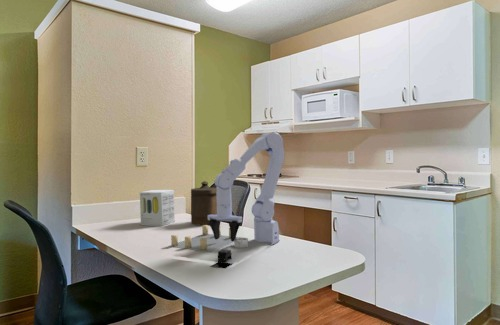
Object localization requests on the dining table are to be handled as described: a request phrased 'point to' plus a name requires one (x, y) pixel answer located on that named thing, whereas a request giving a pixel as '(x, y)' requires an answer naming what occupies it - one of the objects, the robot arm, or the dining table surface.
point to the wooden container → (203, 204)
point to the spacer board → (210, 242)
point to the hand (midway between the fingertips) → (225, 239)
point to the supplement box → (157, 207)
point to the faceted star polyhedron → (241, 242)
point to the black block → (221, 256)
